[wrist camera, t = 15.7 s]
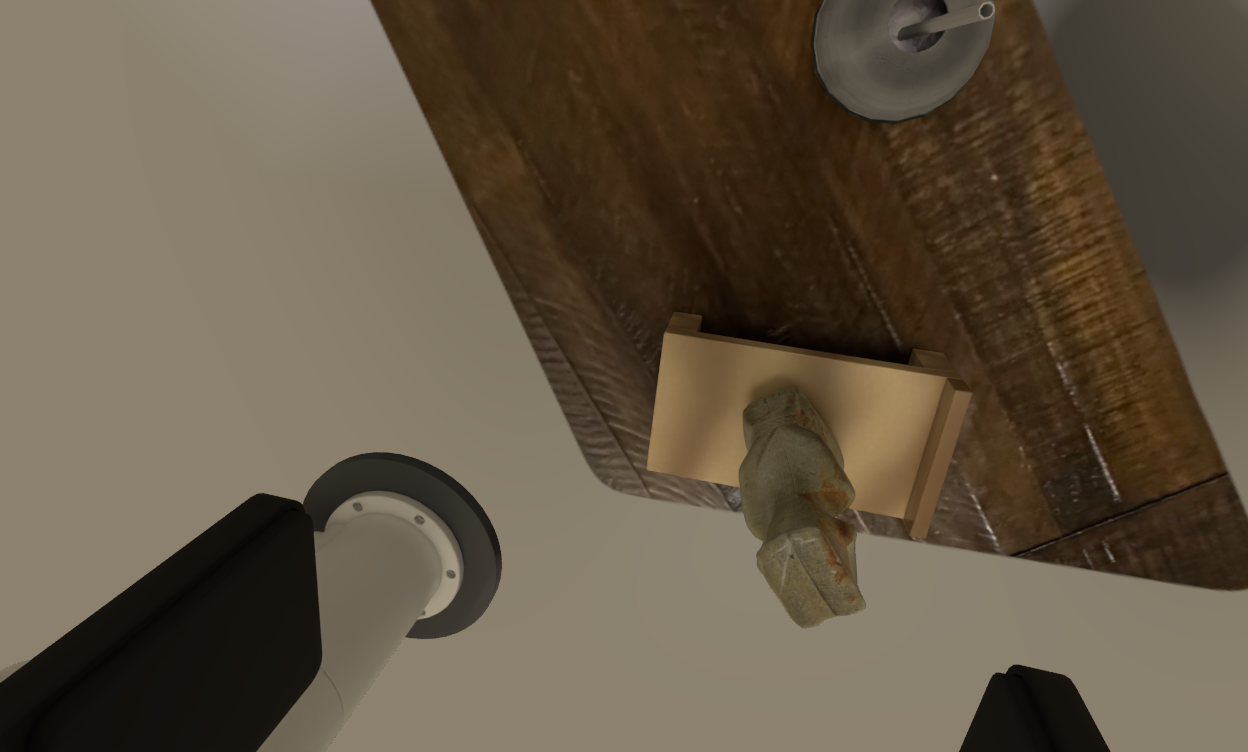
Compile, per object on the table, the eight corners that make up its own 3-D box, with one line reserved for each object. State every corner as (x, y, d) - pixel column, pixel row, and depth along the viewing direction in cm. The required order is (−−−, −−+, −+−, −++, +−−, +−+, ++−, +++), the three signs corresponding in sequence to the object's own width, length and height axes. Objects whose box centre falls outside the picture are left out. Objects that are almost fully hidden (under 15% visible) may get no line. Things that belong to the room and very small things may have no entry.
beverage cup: (822, -29, 38) (872, -161, 20) (952, -2, 38) (1127, -114, 19) (784, 107, 41) (796, 99, 23) (903, 134, 40) (1016, 149, 22)
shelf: (656, 438, 51) (640, 484, 44) (674, 311, 47) (659, 341, 41) (904, 483, 48) (925, 539, 42) (943, 352, 44) (973, 392, 38)
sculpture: (770, 488, 45) (771, 652, 31) (725, 395, 43) (706, 526, 29) (856, 460, 43) (898, 621, 29) (813, 361, 41) (837, 484, 28)
